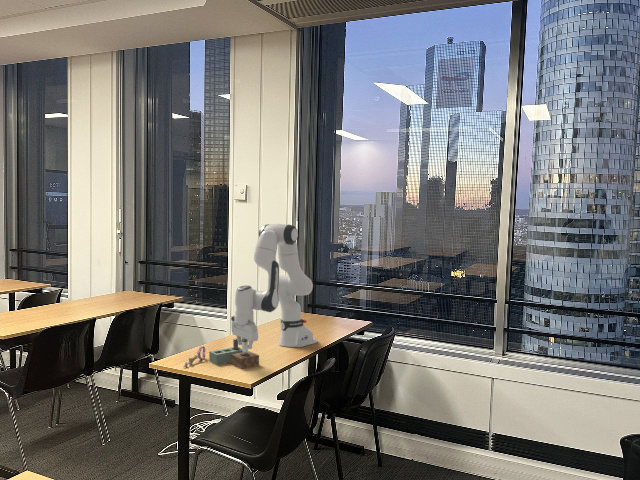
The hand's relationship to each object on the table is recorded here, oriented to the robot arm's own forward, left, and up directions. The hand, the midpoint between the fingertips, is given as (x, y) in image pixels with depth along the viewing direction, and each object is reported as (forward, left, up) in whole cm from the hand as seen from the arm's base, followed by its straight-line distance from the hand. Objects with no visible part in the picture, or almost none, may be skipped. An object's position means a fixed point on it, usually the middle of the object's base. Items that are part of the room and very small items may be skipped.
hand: (244, 346), depth 269 cm
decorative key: (+19, -19, -10) cm, 28 cm away
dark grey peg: (-2, -13, -9) cm, 16 cm away
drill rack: (+3, -13, -9) cm, 16 cm away
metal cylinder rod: (0, 0, -9) cm, 9 cm away
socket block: (0, 0, -9) cm, 9 cm away
